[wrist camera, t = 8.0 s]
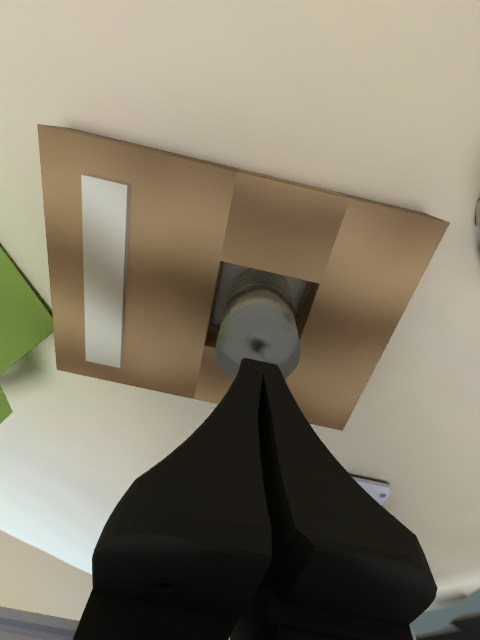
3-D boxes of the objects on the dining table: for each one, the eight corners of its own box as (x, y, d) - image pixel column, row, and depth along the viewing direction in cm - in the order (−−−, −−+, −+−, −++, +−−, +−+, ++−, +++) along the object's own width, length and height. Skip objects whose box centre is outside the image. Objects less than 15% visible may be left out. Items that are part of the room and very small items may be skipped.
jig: (335, 403, 22) (343, 435, 20) (77, 348, 21) (53, 373, 19) (425, 213, 16) (454, 224, 13) (69, 128, 15) (31, 123, 13)
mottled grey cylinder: (282, 328, 20) (289, 393, 14) (225, 317, 20) (210, 378, 14) (297, 273, 18) (310, 324, 13) (234, 261, 18) (221, 307, 13)
